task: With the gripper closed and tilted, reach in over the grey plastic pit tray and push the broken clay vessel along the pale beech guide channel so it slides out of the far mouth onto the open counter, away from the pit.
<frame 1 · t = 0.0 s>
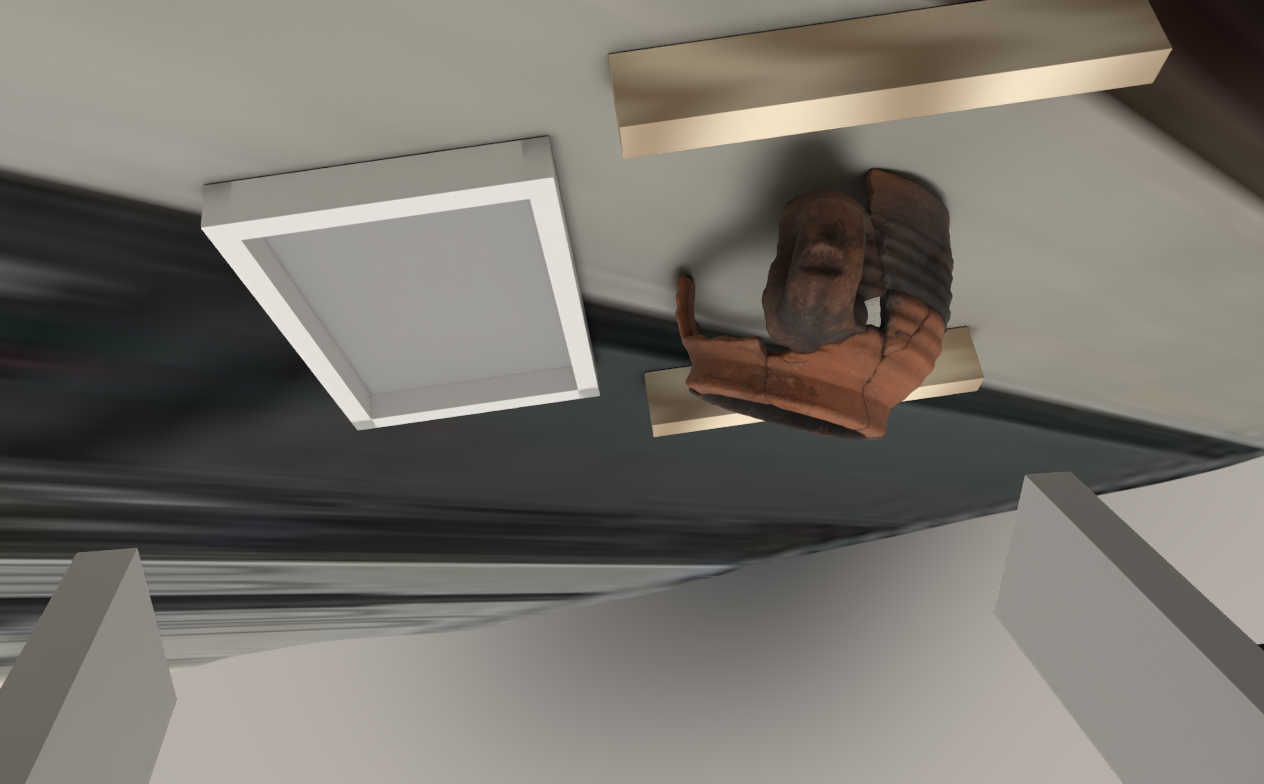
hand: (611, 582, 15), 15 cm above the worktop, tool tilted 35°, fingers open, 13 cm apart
broken clay vessel: (802, 229, 35), on the worktop
guide channel: (913, 221, 34), on the worktop
pit tray: (435, 290, 34), on the worktop
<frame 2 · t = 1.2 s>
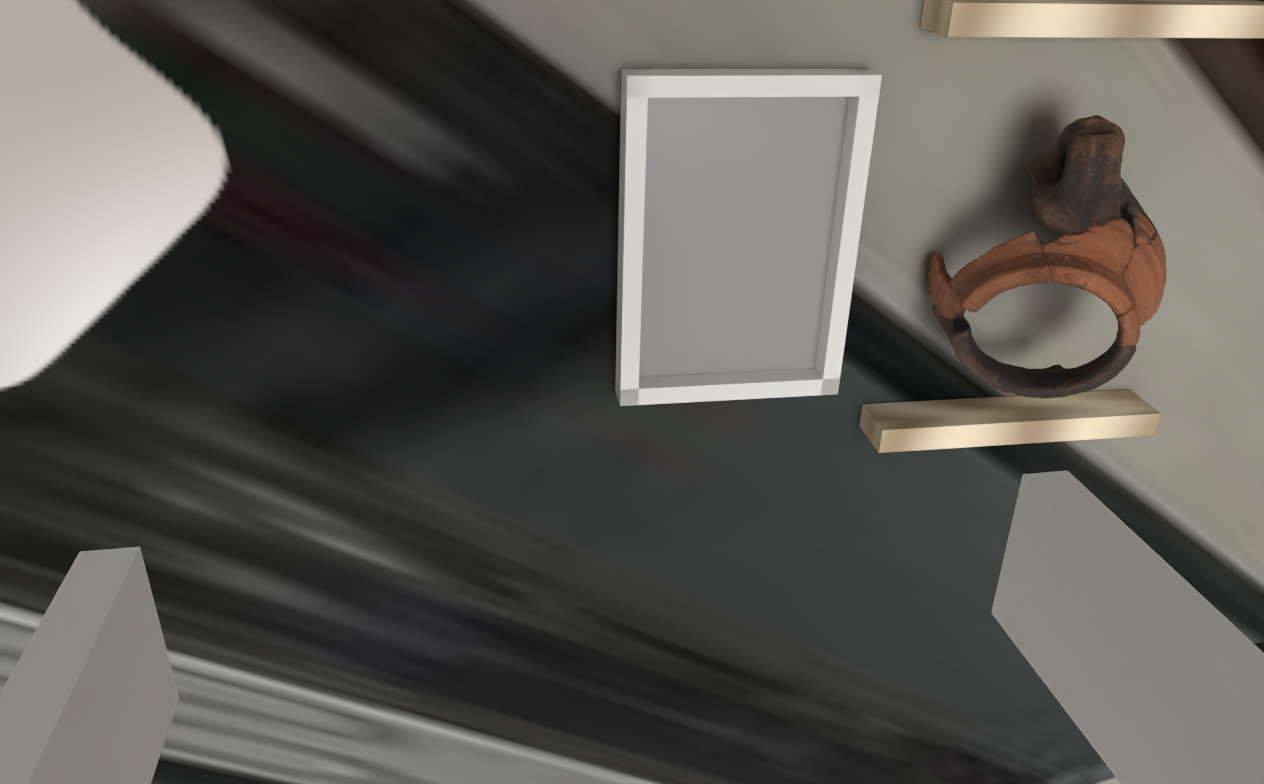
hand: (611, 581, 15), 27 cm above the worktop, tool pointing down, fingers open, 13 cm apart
broken clay vessel: (1022, 228, 44), on the worktop
guide channel: (1097, 227, 44), on the worktop
pit tray: (733, 239, 42), on the worktop
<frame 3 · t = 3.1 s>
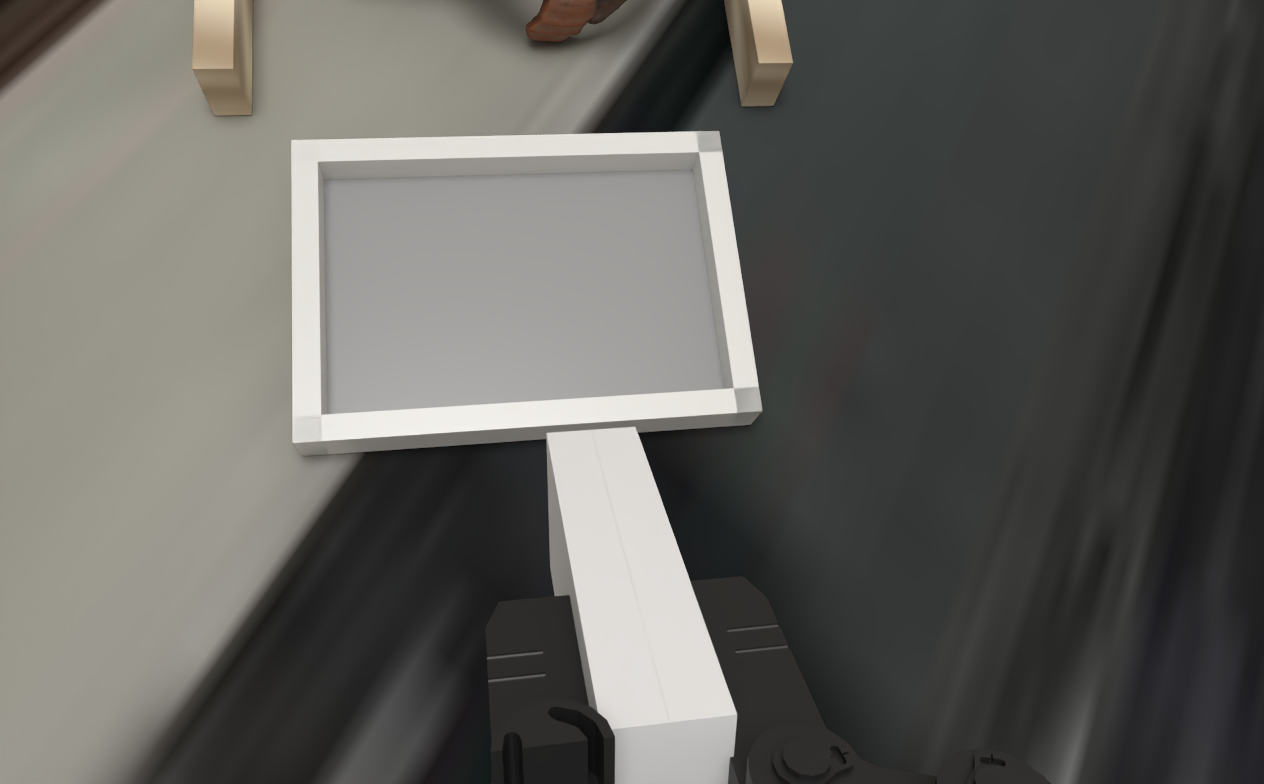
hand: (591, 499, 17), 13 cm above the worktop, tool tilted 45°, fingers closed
pit tray: (522, 293, 32), on the worktop
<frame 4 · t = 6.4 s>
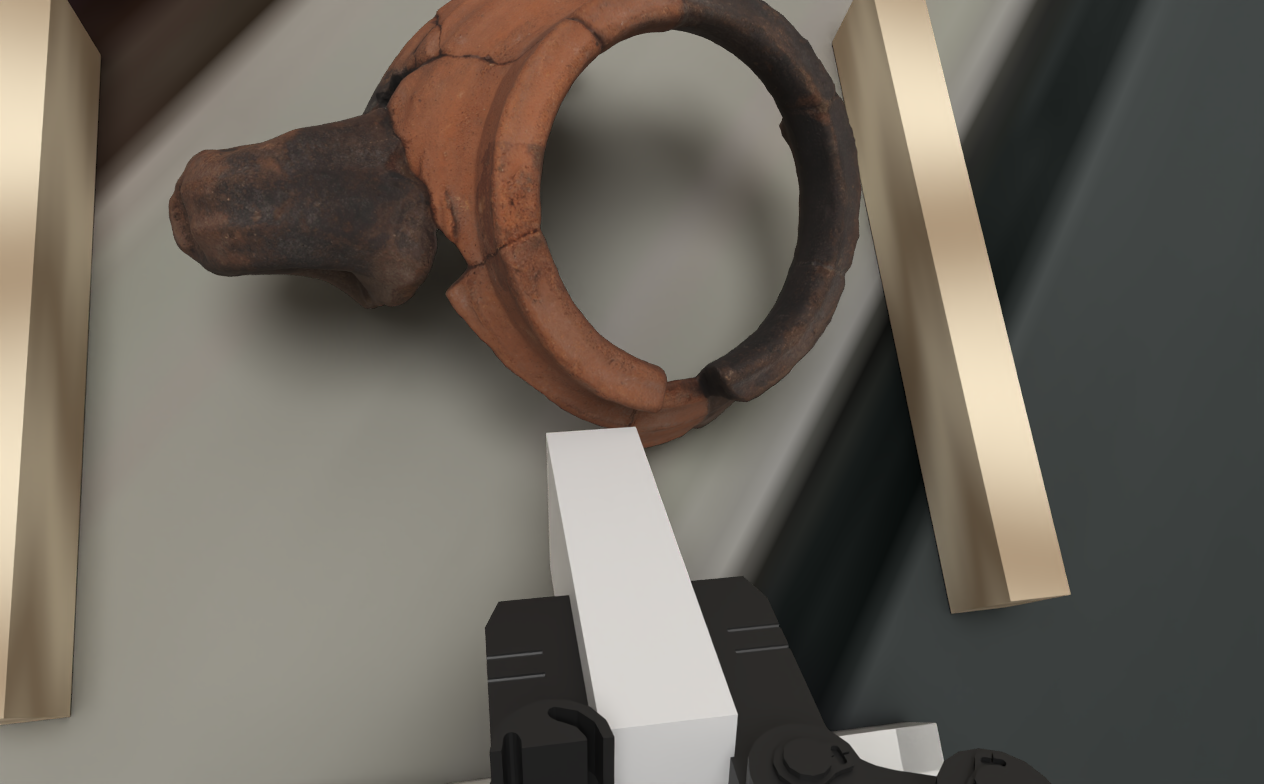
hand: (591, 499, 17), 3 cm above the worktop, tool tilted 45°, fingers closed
broken clay vessel: (520, 269, 22), on the worktop, touching gripper
guide channel: (501, 200, 22), on the worktop
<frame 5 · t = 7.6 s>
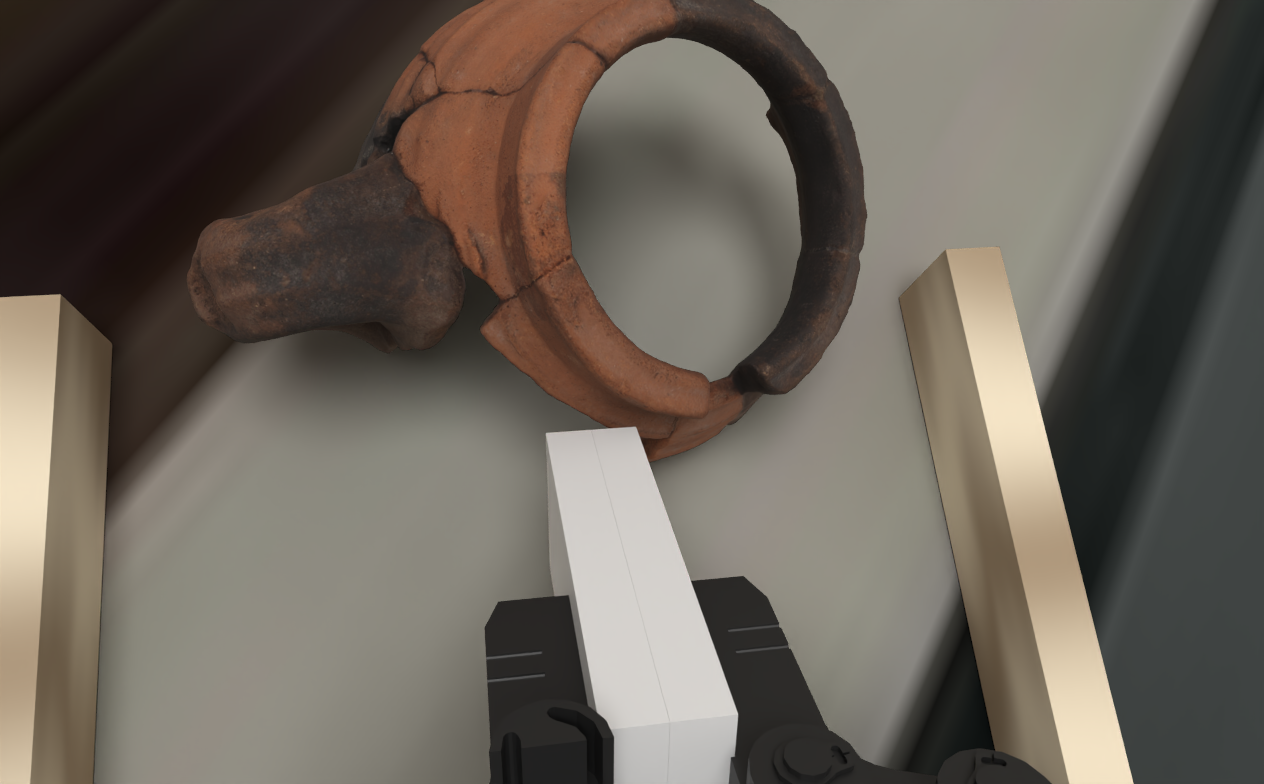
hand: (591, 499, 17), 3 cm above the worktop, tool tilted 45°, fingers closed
broken clay vessel: (526, 290, 22), on the worktop, touching gripper
guide channel: (546, 500, 20), on the worktop
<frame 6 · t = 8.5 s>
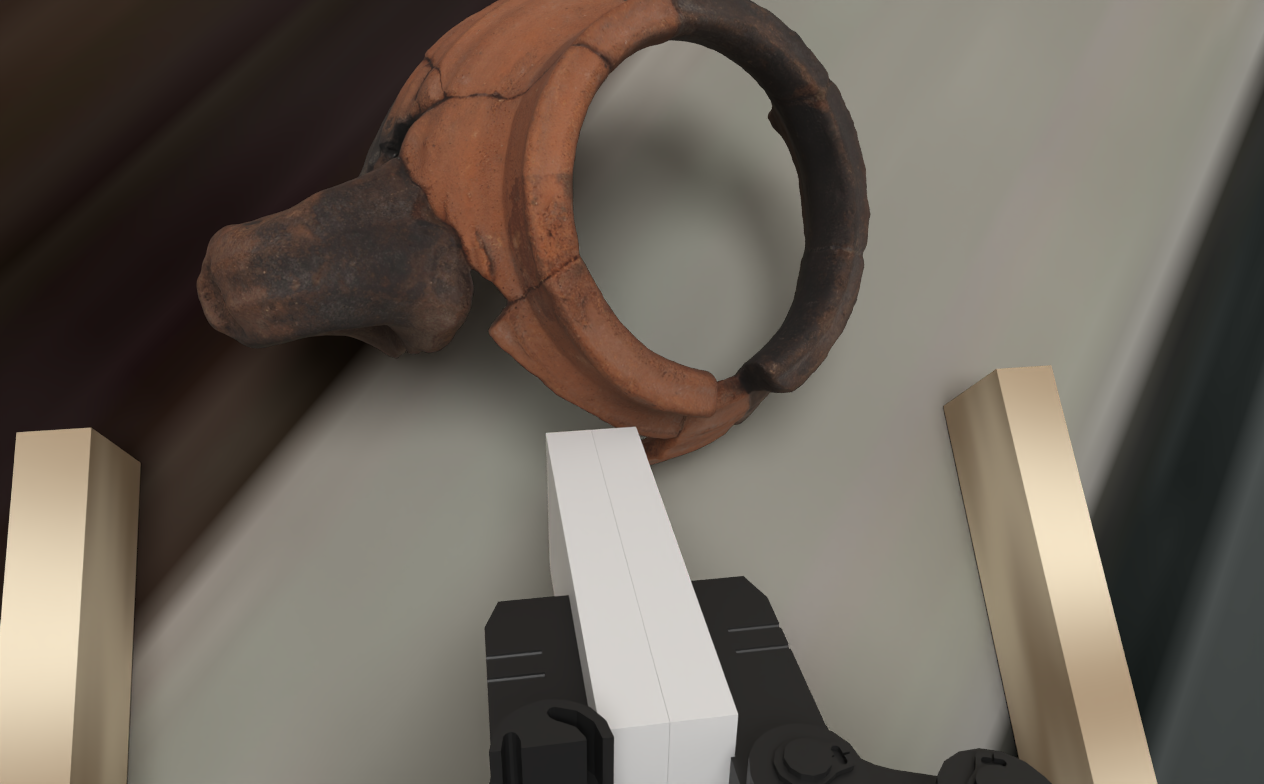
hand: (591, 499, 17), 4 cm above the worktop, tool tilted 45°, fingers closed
broken clay vessel: (531, 294, 22), on the worktop, touching gripper
guide channel: (585, 625, 20), on the worktop
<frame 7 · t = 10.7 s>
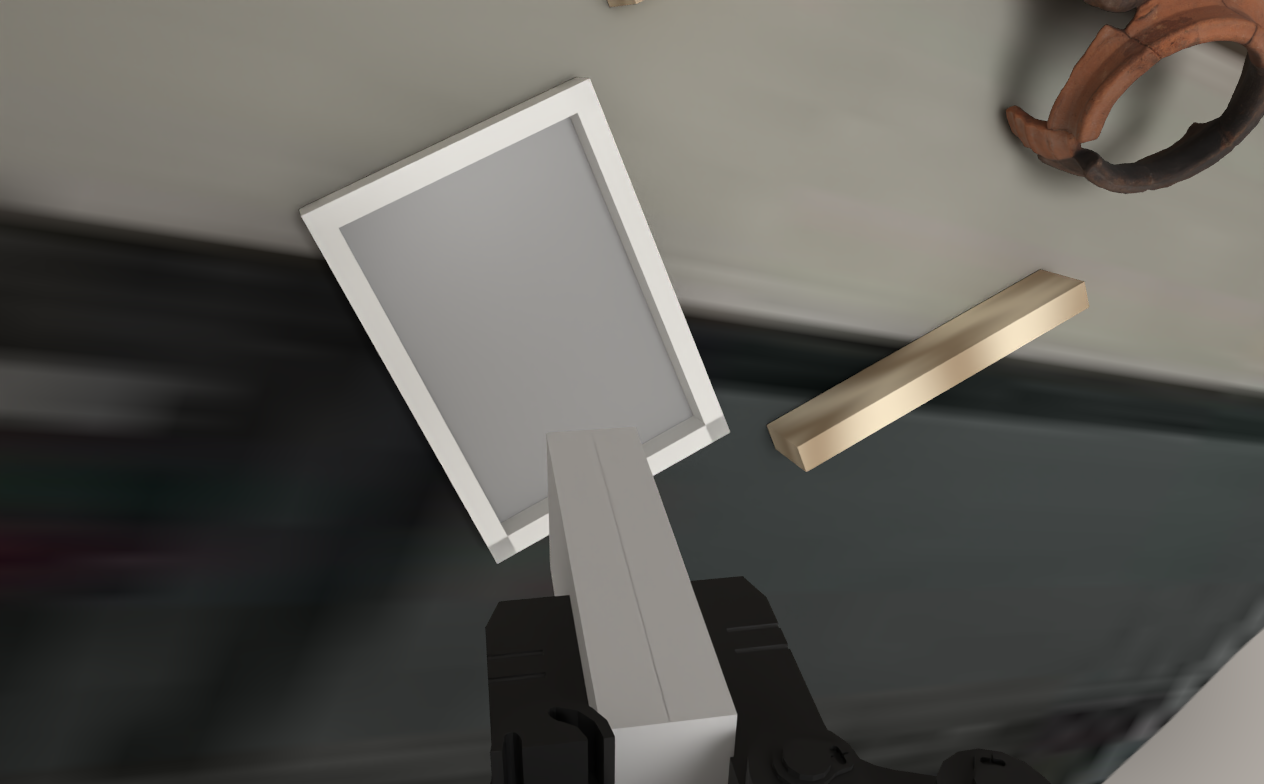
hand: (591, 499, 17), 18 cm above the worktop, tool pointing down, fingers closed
broken clay vessel: (1069, 24, 39), on the worktop
guide channel: (917, 122, 38), on the worktop
pit tray: (529, 325, 35), on the worktop
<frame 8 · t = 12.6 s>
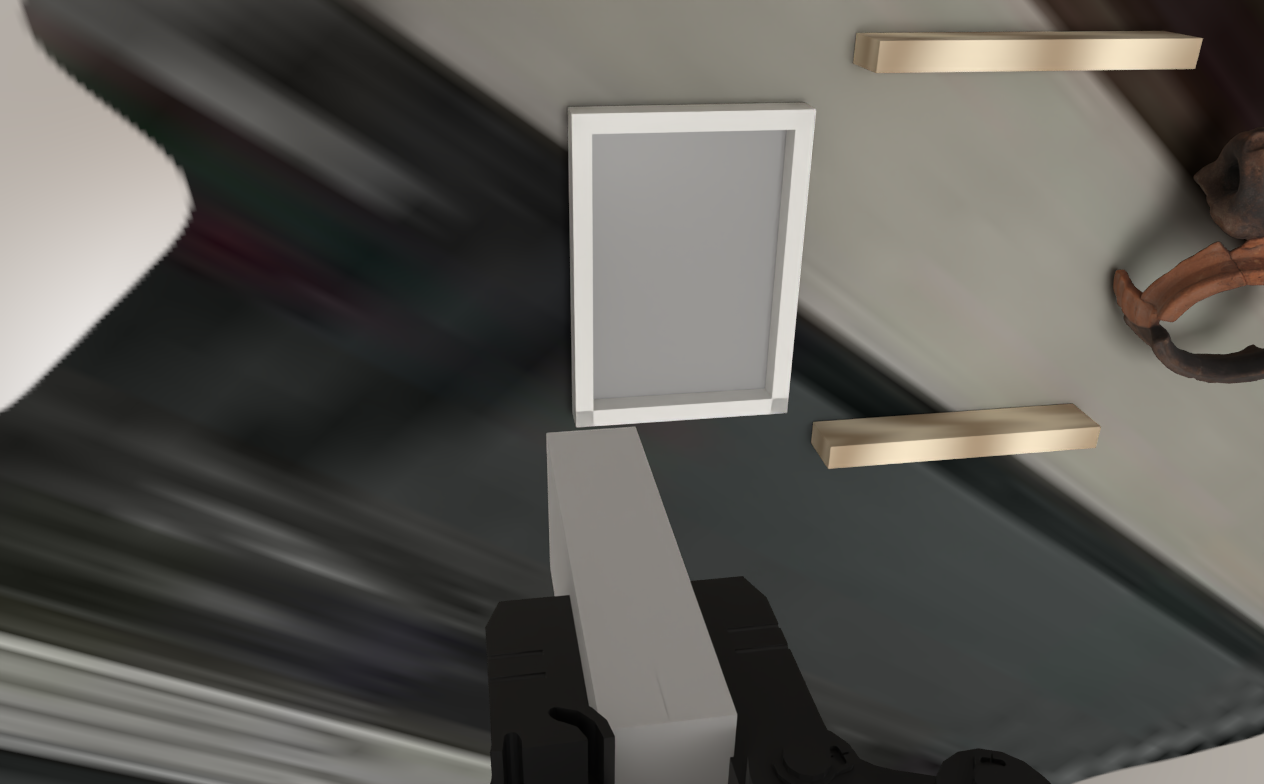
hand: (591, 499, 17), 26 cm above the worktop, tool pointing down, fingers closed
broken clay vessel: (1194, 228, 47), on the worktop
guide channel: (1033, 249, 46), on the worktop
pit tray: (682, 265, 44), on the worktop
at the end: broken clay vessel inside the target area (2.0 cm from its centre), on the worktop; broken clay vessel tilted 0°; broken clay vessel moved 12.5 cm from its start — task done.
